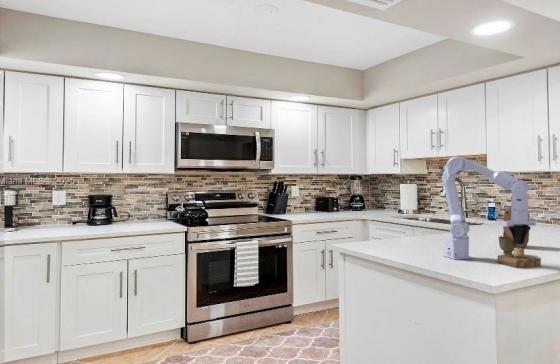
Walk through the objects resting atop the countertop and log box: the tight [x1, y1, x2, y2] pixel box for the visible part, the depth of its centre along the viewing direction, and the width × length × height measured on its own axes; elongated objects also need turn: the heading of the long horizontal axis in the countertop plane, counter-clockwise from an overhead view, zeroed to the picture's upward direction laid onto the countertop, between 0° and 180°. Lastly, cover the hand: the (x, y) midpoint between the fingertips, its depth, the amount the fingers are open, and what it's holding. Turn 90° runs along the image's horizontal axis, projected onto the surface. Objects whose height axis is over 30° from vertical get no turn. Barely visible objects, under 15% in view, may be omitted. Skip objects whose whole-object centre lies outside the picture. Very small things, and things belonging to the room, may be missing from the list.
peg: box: [513, 247, 525, 259], centre depth 152 cm, size 4×4×6 cm
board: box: [497, 254, 542, 269], centre depth 152 cm, size 12×9×3 cm
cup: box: [498, 235, 517, 255], centre depth 172 cm, size 8×7×8 cm
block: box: [502, 206, 530, 249], centre depth 191 cm, size 11×8×20 cm
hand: (519, 243), depth 152 cm, fingers closed
